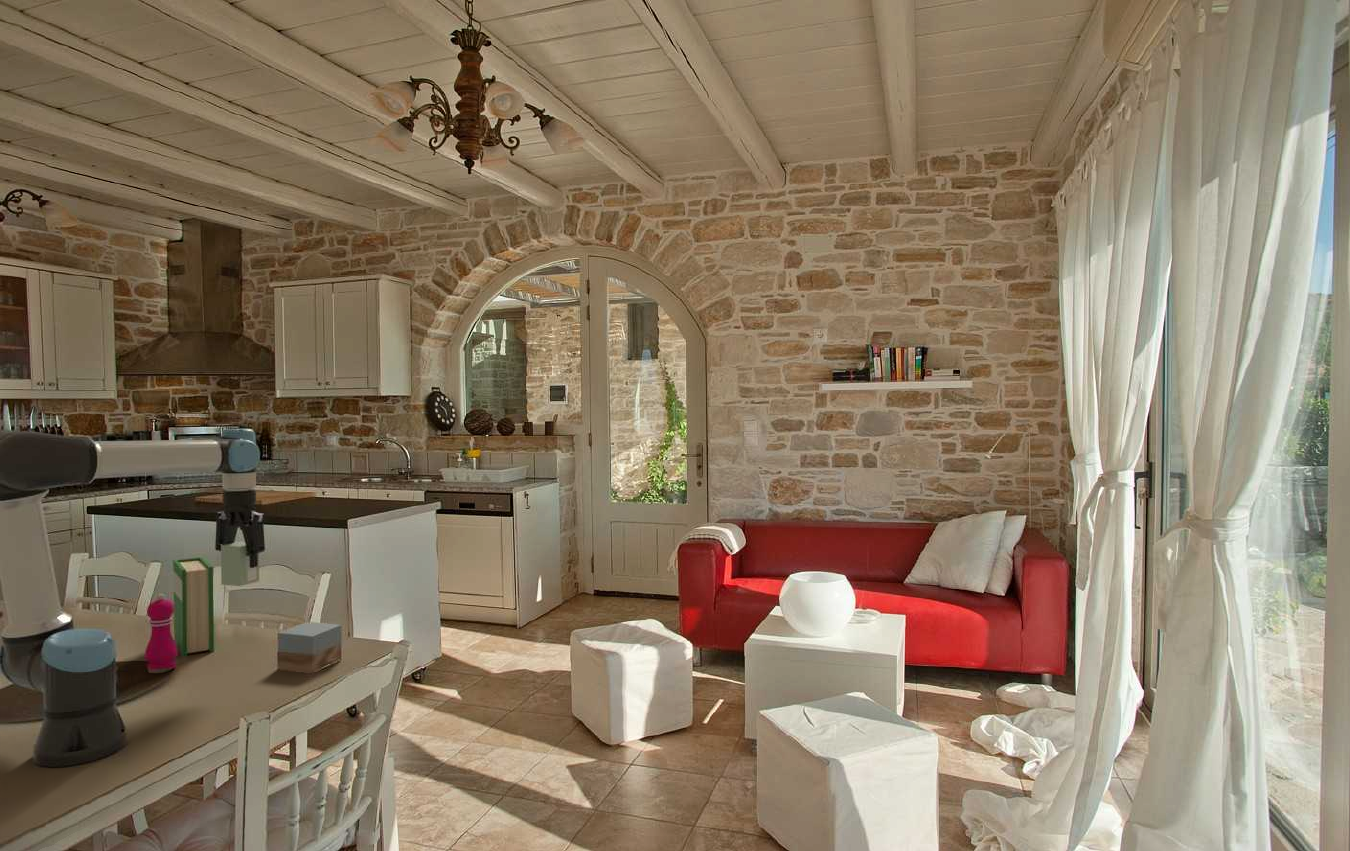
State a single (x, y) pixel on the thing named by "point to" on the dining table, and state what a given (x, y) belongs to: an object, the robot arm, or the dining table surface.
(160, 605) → the pepper mill
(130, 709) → the dining table surface
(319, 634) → the tower top block
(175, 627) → the hardback book
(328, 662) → the tower bottom block
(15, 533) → the robot arm
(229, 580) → the sage block
